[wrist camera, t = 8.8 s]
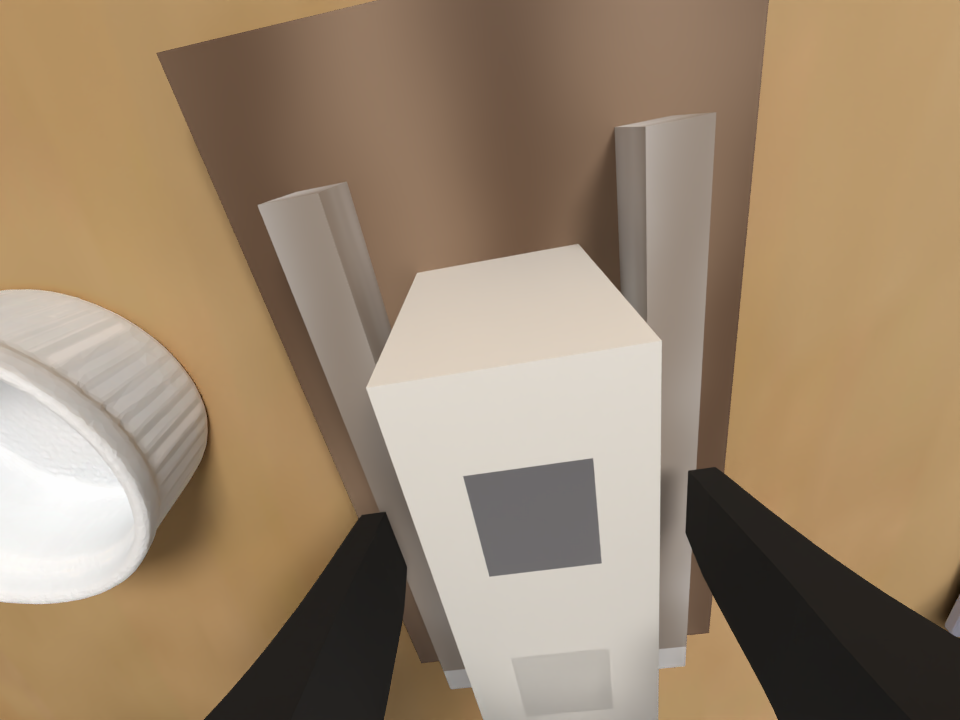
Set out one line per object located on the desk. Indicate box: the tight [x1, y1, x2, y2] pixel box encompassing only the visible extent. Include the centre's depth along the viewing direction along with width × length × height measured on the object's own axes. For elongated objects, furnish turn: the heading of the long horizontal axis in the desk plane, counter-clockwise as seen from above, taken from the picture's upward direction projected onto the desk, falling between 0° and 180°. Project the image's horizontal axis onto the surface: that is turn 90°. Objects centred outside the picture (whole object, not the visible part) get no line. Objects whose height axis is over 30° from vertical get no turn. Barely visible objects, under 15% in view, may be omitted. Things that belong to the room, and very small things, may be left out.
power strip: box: [366, 244, 662, 720], centre depth 11 cm, size 4×11×6 cm, turn 10°
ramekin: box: [0, 289, 208, 604], centre depth 13 cm, size 9×9×4 cm
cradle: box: [157, 0, 769, 689], centre depth 13 cm, size 12×22×4 cm, turn 10°
